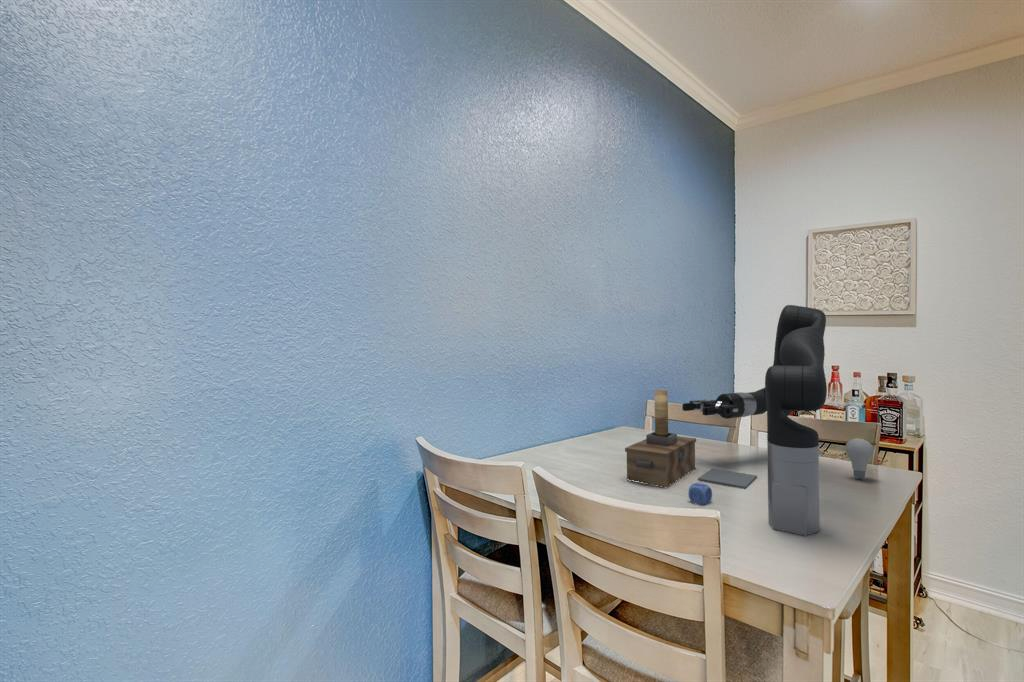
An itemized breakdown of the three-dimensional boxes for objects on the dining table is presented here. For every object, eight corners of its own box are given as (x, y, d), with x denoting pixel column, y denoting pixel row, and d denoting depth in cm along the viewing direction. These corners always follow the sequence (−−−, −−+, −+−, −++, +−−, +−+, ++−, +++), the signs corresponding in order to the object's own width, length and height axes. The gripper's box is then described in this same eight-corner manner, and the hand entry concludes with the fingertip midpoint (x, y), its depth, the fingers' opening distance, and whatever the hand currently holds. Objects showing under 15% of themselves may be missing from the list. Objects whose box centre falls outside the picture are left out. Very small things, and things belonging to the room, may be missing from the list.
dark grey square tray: (668, 446, 133) (668, 437, 133) (646, 443, 137) (646, 434, 137) (677, 442, 138) (677, 433, 138) (655, 439, 142) (655, 431, 142)
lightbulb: (872, 477, 130) (872, 437, 130) (874, 484, 125) (874, 442, 125) (845, 474, 134) (844, 435, 134) (846, 480, 129) (845, 439, 128)
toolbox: (664, 489, 124) (664, 455, 124) (623, 481, 132) (622, 448, 132) (698, 467, 144) (697, 437, 144) (660, 461, 151) (660, 433, 151)
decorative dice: (696, 498, 118) (696, 481, 118) (712, 502, 115) (712, 485, 115) (688, 502, 115) (688, 485, 115) (704, 506, 112) (704, 489, 112)
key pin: (665, 445, 135) (664, 391, 135) (653, 443, 137) (652, 390, 137) (670, 442, 138) (669, 390, 138) (658, 441, 140) (657, 389, 140)
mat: (745, 489, 124) (745, 486, 124) (697, 480, 131) (697, 478, 131) (757, 477, 133) (756, 475, 133) (712, 470, 141) (712, 468, 141)
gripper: (718, 390, 154) (676, 393, 148) (754, 395, 140) (710, 399, 135) (718, 413, 154) (677, 418, 148) (755, 421, 140) (711, 426, 135)
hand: (693, 409), depth 141 cm, fingers open, 8 cm apart
